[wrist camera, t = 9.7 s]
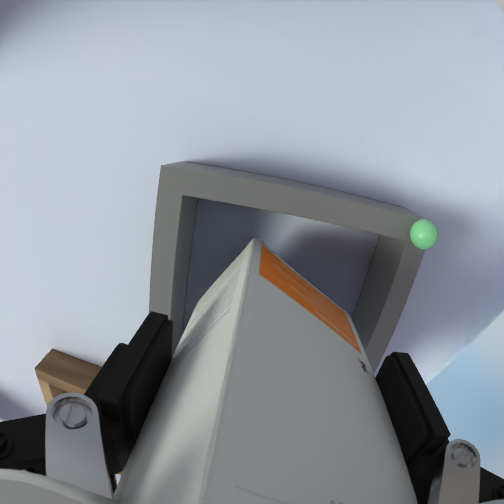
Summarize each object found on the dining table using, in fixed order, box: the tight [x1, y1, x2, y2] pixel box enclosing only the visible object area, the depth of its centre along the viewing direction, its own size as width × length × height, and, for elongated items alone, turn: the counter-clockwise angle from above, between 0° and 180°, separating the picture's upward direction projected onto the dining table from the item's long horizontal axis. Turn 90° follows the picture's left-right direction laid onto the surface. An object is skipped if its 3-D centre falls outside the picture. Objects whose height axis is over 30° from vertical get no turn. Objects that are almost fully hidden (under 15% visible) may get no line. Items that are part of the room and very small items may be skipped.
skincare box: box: [114, 238, 418, 504], centre depth 9 cm, size 6×4×12 cm
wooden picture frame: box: [35, 349, 124, 475], centre depth 19 cm, size 11×11×2 cm
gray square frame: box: [149, 161, 438, 373], centre depth 14 cm, size 11×11×4 cm
